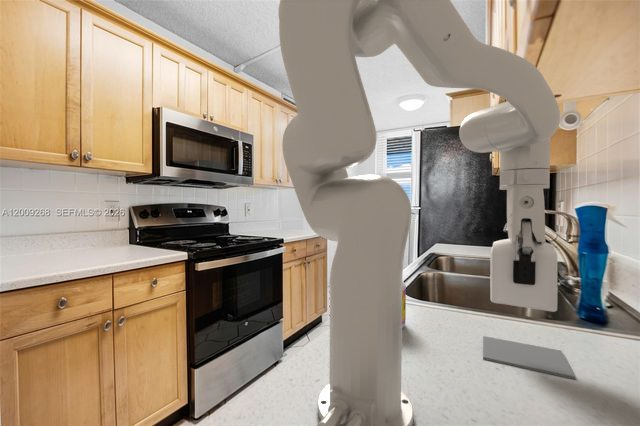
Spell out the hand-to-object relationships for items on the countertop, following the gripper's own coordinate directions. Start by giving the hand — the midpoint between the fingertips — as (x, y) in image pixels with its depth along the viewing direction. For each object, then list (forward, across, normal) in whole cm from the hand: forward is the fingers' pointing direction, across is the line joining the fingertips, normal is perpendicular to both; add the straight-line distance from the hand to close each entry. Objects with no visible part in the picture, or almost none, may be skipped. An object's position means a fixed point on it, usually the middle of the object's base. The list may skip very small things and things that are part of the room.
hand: (522, 279), depth 55 cm
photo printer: (+5, 0, 0) cm, 5 cm away
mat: (+14, 0, 0) cm, 14 cm away
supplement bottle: (+14, +3, +25) cm, 29 cm away
